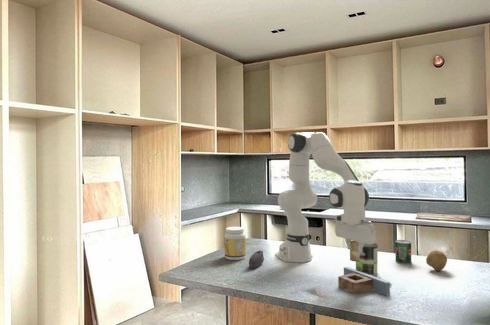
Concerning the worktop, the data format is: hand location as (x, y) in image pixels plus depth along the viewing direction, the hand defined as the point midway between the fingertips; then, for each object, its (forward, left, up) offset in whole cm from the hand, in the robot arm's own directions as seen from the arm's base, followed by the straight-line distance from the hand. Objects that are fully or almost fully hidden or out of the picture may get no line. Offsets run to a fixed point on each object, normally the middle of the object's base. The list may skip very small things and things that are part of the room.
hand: (354, 250), depth 151 cm
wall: (0, +6, -16) cm, 17 cm away
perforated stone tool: (-49, -21, -17) cm, 56 cm away
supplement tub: (-69, -23, -17) cm, 75 cm away
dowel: (0, 0, -4) cm, 4 cm away
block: (0, 0, -16) cm, 16 cm away
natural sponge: (+3, +52, -17) cm, 55 cm away
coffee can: (-12, +20, -17) cm, 29 cm away
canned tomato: (-15, +51, -17) cm, 56 cm away
